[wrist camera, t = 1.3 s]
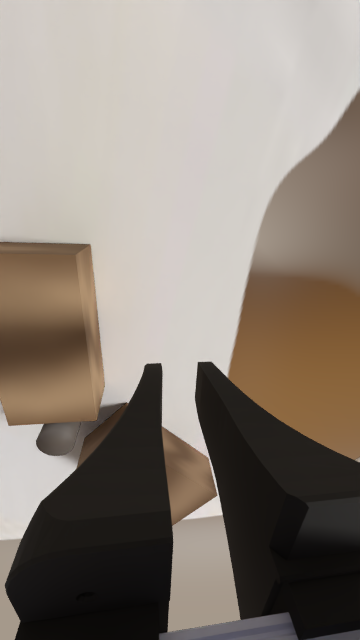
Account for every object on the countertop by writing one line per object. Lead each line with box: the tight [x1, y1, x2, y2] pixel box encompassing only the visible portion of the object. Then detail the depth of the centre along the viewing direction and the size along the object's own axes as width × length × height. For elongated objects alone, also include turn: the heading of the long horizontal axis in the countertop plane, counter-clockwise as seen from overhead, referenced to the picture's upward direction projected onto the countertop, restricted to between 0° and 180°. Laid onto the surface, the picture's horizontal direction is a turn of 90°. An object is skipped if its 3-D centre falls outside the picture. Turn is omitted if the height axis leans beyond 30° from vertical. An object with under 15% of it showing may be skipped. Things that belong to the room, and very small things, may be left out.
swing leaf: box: [0, 242, 105, 456], centre depth 18 cm, size 15×6×4 cm, turn 178°
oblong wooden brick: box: [77, 403, 217, 526], centre depth 24 cm, size 12×6×4 cm, turn 43°
